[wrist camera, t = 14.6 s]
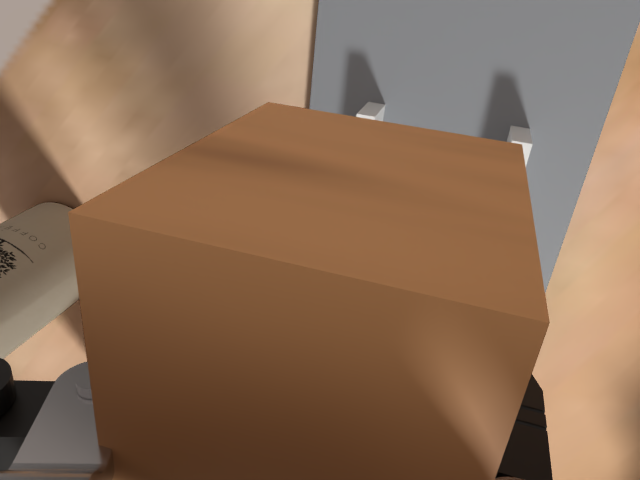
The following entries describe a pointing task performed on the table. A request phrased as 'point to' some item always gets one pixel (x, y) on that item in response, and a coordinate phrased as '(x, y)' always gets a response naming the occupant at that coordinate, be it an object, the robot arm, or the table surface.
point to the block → (312, 303)
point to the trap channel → (485, 80)
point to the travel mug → (34, 272)
